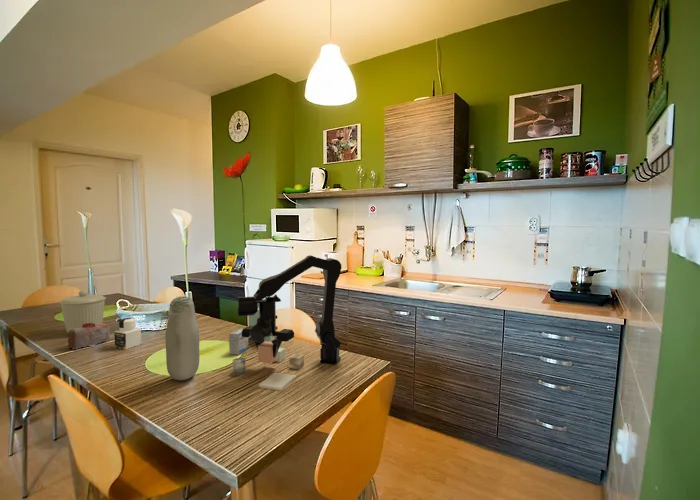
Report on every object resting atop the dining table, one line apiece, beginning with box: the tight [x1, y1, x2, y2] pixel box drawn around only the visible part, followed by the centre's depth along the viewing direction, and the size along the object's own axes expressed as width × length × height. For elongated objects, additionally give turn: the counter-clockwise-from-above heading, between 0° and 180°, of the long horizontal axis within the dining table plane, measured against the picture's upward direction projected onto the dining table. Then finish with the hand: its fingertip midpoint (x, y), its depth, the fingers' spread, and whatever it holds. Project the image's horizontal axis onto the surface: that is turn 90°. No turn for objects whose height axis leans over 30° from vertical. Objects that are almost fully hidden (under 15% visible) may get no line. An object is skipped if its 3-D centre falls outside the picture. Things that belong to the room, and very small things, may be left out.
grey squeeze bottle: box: [164, 296, 200, 381], centre depth 114 cm, size 10×10×28 cm
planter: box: [247, 303, 274, 342], centre depth 155 cm, size 16×8×20 cm, turn 49°
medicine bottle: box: [114, 317, 142, 350], centre depth 147 cm, size 7×7×12 cm
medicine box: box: [228, 328, 249, 356], centre depth 141 cm, size 8×4×9 cm, turn 168°
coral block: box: [257, 341, 278, 365], centre depth 123 cm, size 5×5×6 cm
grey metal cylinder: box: [232, 357, 247, 376], centre depth 120 cm, size 4×4×4 cm
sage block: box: [274, 347, 286, 363], centre depth 132 cm, size 4×4×4 cm
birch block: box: [288, 353, 305, 370], centre depth 125 cm, size 4×4×4 cm
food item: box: [67, 322, 111, 350], centre depth 148 cm, size 14×8×10 cm, turn 155°
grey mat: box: [258, 372, 296, 391], centre depth 112 cm, size 8×10×1 cm
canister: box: [58, 289, 107, 335], centre depth 166 cm, size 18×18×21 cm
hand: (267, 356), depth 123 cm, fingers closed on coral block, 5 cm apart
